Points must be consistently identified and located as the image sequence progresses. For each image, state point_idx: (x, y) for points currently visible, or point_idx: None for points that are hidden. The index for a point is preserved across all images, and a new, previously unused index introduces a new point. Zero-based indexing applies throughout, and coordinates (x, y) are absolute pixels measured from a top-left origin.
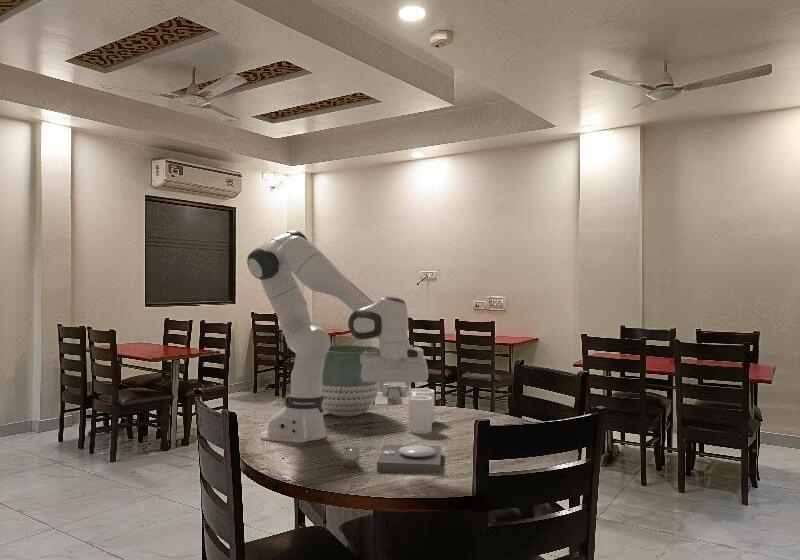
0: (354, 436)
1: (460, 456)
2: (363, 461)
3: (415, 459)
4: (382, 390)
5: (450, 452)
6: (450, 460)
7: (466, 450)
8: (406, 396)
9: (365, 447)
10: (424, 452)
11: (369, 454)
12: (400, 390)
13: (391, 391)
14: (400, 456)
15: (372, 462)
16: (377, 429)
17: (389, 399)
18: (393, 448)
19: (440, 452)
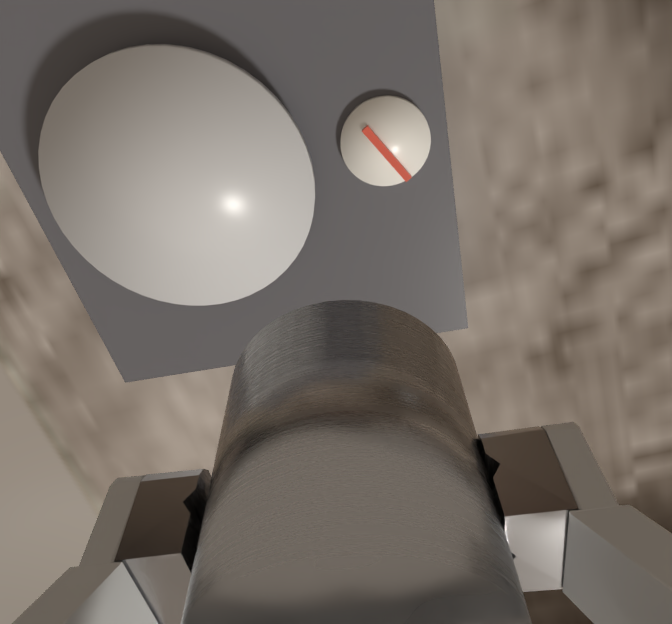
0: (668, 501)
1: (24, 345)
2: (560, 68)
3: (137, 34)
4: (625, 519)
5: (107, 393)
6: (34, 263)
7: (51, 440)
8: (115, 483)
9: (587, 356)
10: (103, 149)
11: (542, 236)
12: (194, 564)
13: (383, 480)
14: (276, 81)
15: (491, 64)
16: (563, 602)
17: (418, 367)
18: (385, 261)
19: (62, 264)
